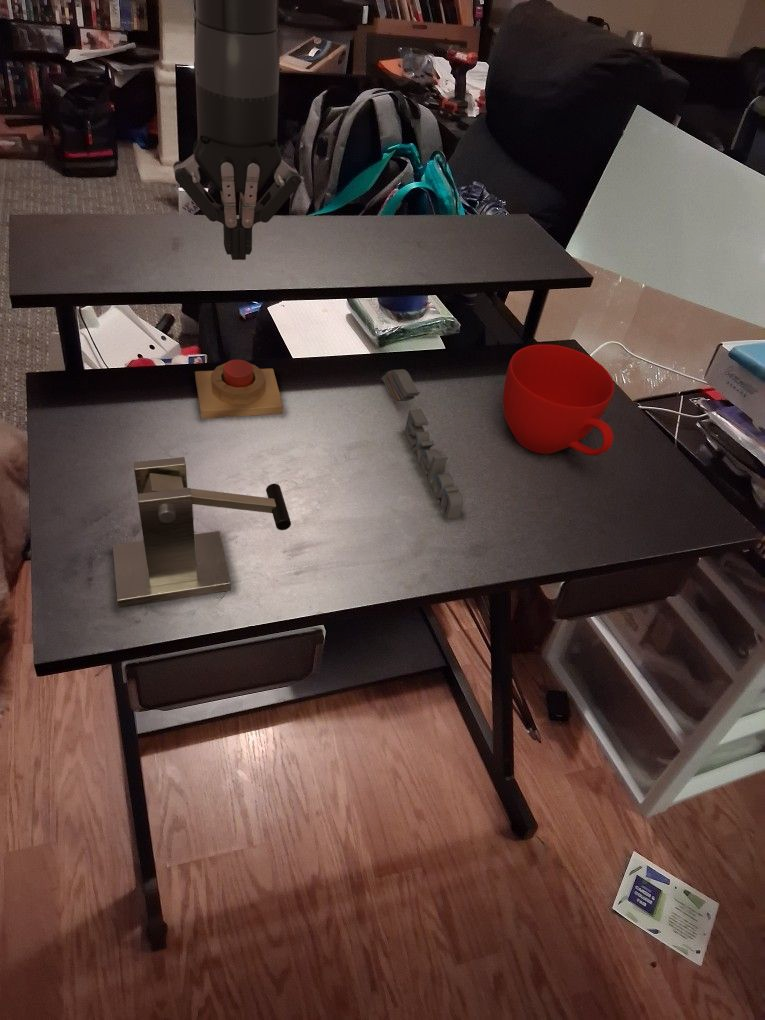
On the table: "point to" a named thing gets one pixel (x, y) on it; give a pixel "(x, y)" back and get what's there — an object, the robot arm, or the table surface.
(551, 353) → the ceramic cup
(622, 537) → the table surface
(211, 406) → the switch block
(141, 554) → the bracket
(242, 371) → the button
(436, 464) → the block letters
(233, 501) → the lever
